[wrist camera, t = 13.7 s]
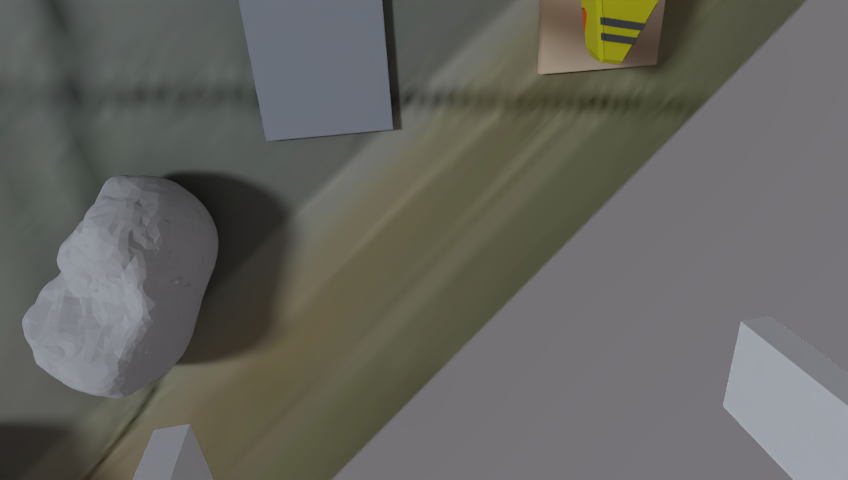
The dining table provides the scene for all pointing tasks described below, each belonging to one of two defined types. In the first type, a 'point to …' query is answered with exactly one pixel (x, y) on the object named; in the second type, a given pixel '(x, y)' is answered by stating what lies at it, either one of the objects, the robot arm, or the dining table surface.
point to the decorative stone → (125, 288)
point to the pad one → (318, 66)
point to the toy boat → (614, 26)
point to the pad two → (567, 39)
